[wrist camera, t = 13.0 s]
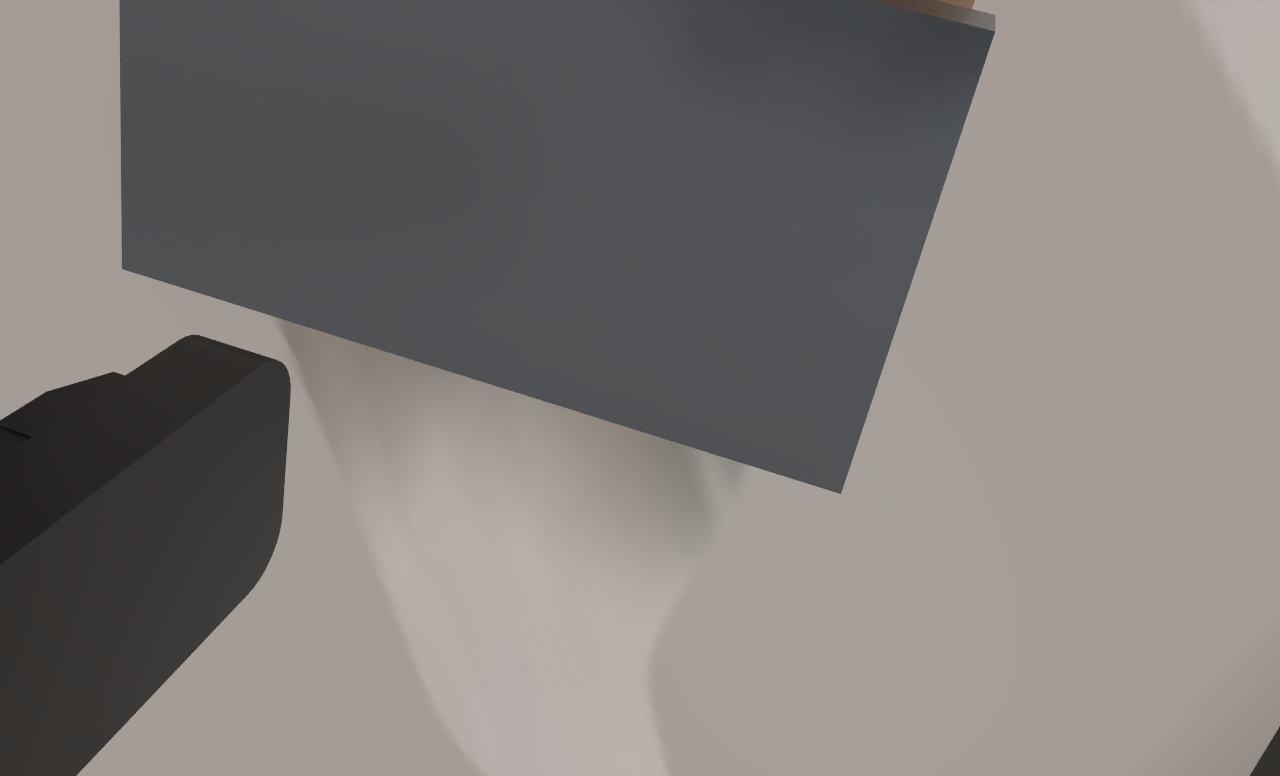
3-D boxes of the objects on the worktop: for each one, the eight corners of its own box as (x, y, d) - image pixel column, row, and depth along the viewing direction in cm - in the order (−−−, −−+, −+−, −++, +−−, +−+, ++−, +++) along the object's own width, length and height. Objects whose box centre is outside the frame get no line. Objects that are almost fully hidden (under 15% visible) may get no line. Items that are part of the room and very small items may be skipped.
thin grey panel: (997, -84, 34) (994, 31, 17) (912, 183, 38) (840, 493, 21) (532, -196, 36) (117, -191, 19) (495, 69, 40) (122, 268, 23)
